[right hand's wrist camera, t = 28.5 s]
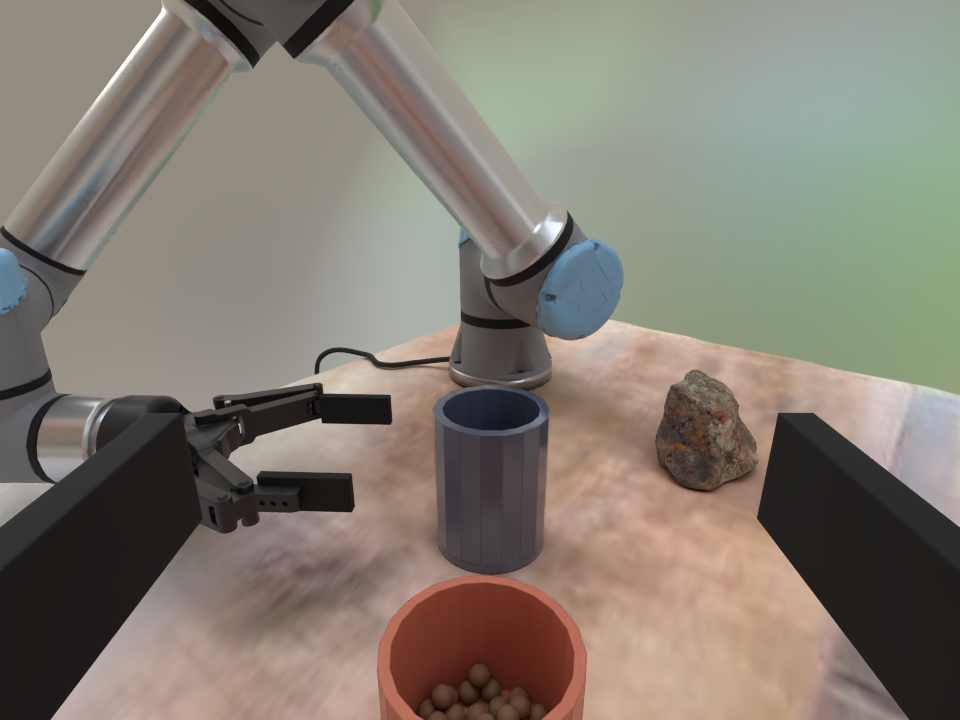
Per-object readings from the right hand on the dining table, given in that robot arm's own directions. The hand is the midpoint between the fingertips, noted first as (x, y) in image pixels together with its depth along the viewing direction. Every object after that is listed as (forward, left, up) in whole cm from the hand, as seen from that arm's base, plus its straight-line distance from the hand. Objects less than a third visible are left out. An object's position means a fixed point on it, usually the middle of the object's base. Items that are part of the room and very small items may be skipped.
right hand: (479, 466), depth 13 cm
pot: (+5, -8, -24) cm, 26 cm away
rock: (0, -49, -24) cm, 55 cm away
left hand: (+22, -21, -16) cm, 35 cm away
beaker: (+14, -26, -24) cm, 38 cm away
